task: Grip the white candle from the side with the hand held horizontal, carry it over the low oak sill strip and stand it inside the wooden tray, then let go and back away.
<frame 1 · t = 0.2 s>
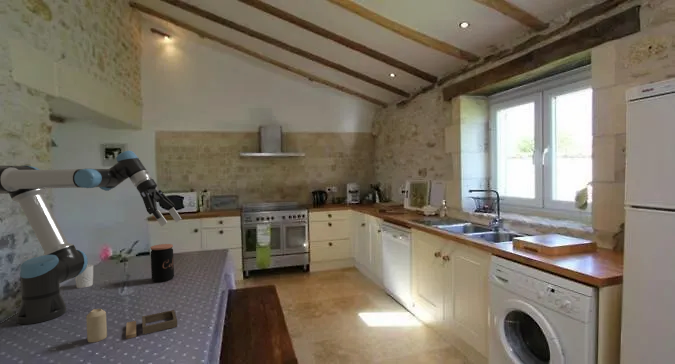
hand: (172, 222, 151), 35 cm above the table, tool tilted 35°, fingers open, 13 cm apart
white cup: (84, 286, 175), on the table
sill strip: (131, 331, 123), on the table
candle: (97, 339, 118), on the table
coffee jar: (163, 279, 182), on the table
wooden tray: (159, 324, 127), on the table
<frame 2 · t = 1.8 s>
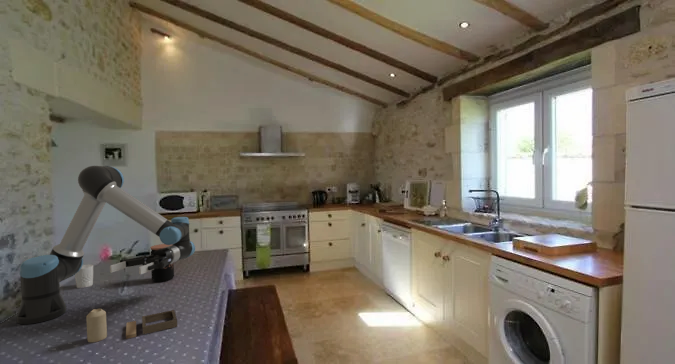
hand: (125, 270, 130), 20 cm above the table, tool horizontal, fingers open, 13 cm apart
nothing on the table moved.
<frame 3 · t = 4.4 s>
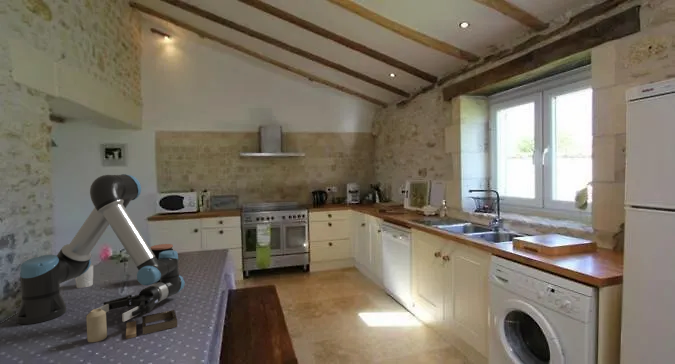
hand: (107, 316, 121), 6 cm above the table, tool horizontal, fingers open, 13 cm apart
nothing on the table moved.
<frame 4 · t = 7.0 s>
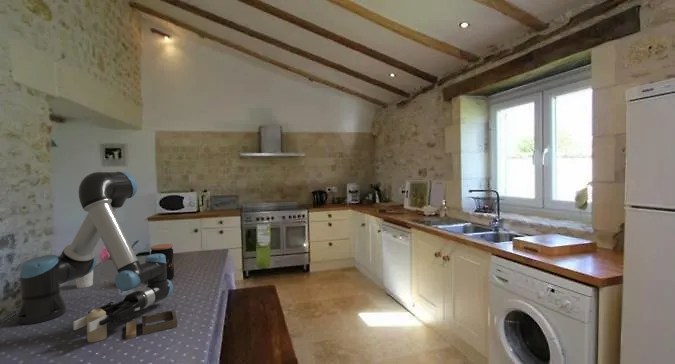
hand: (81, 326, 112), 7 cm above the table, tool horizontal, fingers closed on candle, 5 cm apart
candle: (97, 339, 118), on the table, touching gripper
everything else where it was.
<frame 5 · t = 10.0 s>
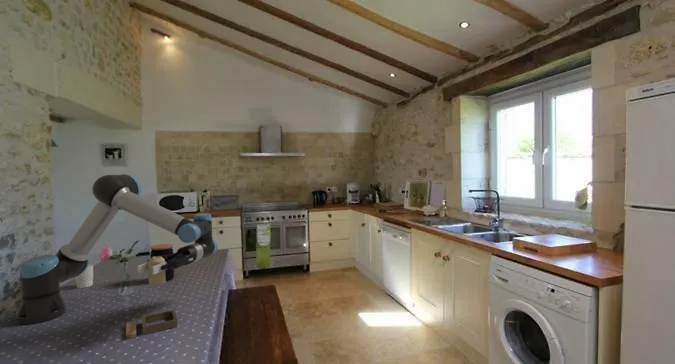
hand: (145, 270, 122), 22 cm above the table, tool horizontal, fingers closed on candle, 5 cm apart
candle: (157, 284, 127), point 15 cm above the table, touching gripper
everything else where it was.
when the fingers open (8 cm above the table, at t = 13.3 s): candle drops 1 cm, resting in wooden tray.
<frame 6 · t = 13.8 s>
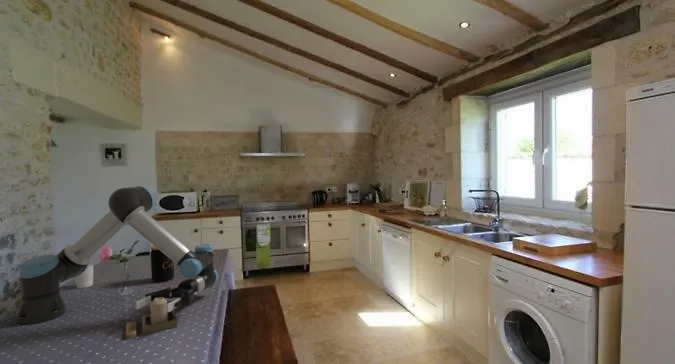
hand: (151, 307, 124), 8 cm above the table, tool horizontal, fingers open, 13 cm apart
candle: (159, 325, 127), resting in wooden tray
everything else where it was.
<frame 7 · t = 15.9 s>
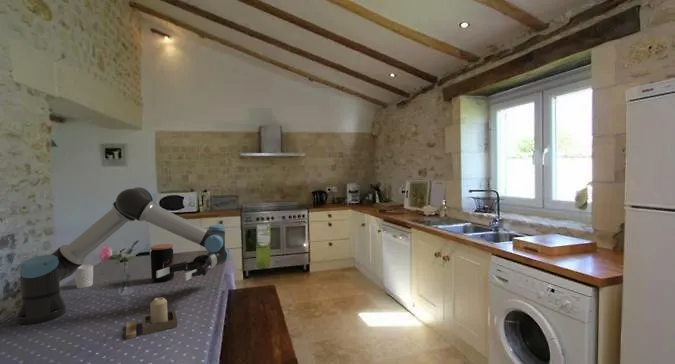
hand: (171, 275, 138), 15 cm above the table, tool horizontal, fingers open, 13 cm apart
nothing on the table moved.
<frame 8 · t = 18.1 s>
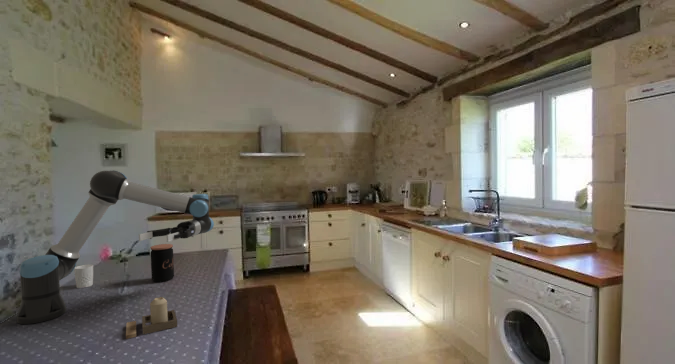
hand: (153, 238, 140), 30 cm above the table, tool horizontal, fingers open, 13 cm apart
nothing on the table moved.
at the end: candle 0.0 cm off-centre on the wooden tray, point 0.0 cm above the wooden tray's base; candle tilted 0°; the gripper is holding nothing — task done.
